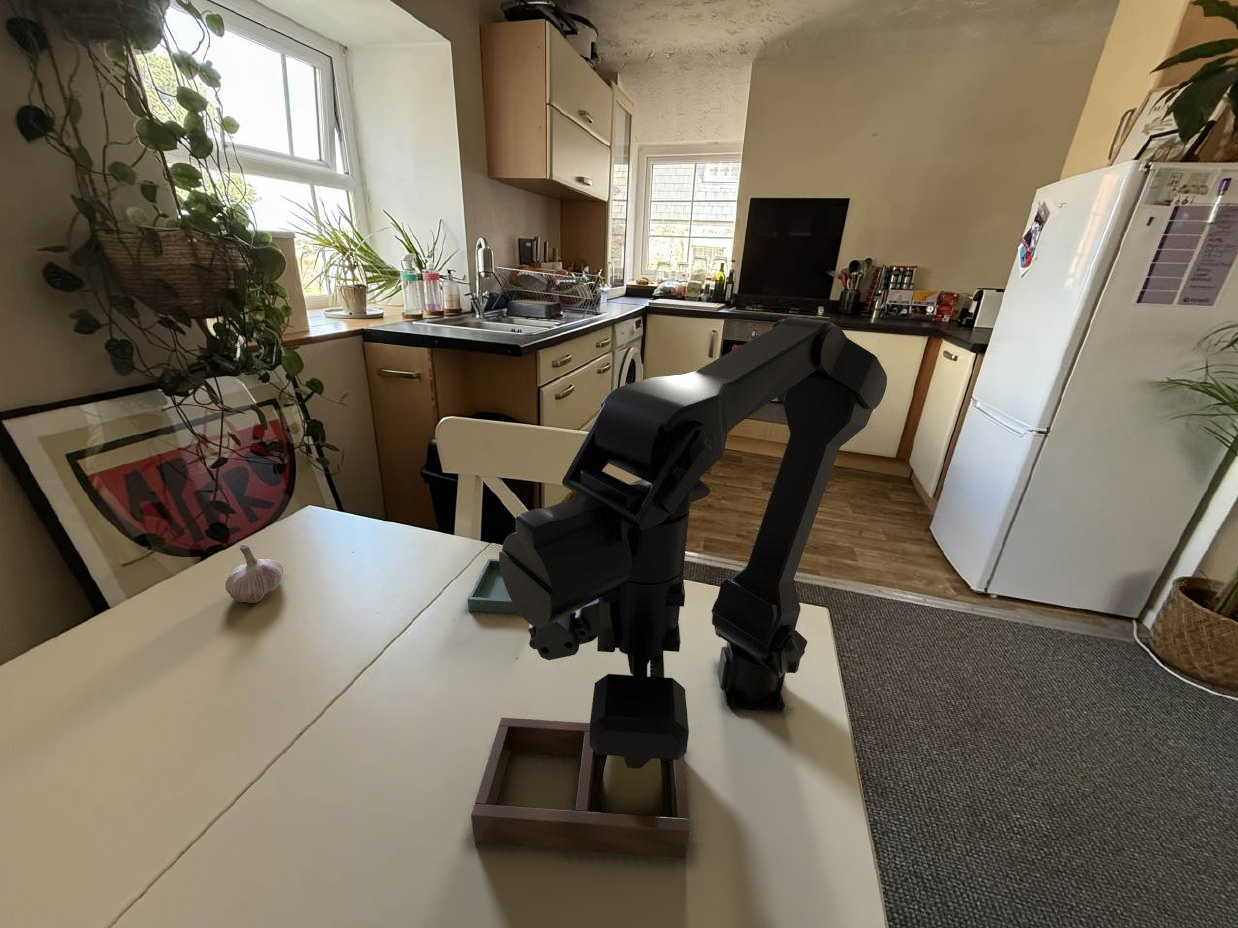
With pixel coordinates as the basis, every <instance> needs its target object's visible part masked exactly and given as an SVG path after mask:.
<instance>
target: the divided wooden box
mask: <svg viewBox="0 0 1238 928" xmlns="http://www.w3.org/2000/svg"><path fill="white" fill-rule="evenodd" d="M589 737H590V722H577V721H565V720H564V721H563V720H548V719H532V718H518V717H517V718H516V717H502V716H501V717H500V720H499V723H498V727H497V729H496V733H495V736H494V740H493V742H492V746H491V749H490V753H489V756H488V758H487V762H486V765H485V769H484V771H483V775H482V779H481V782H480V784H479V788H478V791H477V795H476V797H475V801H474V805H473V807H472V810H471V814H470V818H471V819H470V820H471V827H472V835H473V842H474V843H479V844H480V843H482V844H496V845H509V846H523V847H535V848H537V847H538V848H550V849H564V850H565V849H566V850H579V851H592V852H607V853H619V854H620V853H623V854H634V855H649V856H660V857H661V856H662V857H677V858H687V855H688V850H689V849H688V848H689V841H690V834H691V825H690V815H689V814H690V813H689V812H690V811H689V801H688V789H687V787H688V786H687V776H686V765H685V754H684V755H683V756H682V757H681V758H680V759H679V760H667V759H660V762H669V774H670V775H669V778H670V779H669V780H670V795H671V797H670V799H671V815H672V816H671V817H669V816H668V817H667V816H659V817H654V816H640V815H626V814H611V813H602V812H595V811H590V809H591V796H592V788H593V779H594V778H593V776H594V767H595V758H607V755H597V754H596V753H595V751H594V750H593V749H592V748H591V747H590V746H589ZM511 752H520V753H521V752H522V753H533V754H534V753H535V754H537V753H538V754H550V755H551V754H552V755H564V756H580V757H581V760H580V769H579V777H578V785H577V795H576V801H575V809H574V810H568V809H567V810H566V809H552V808H539V807H538V808H536V807H523V806H511V805H497V801H498V798H499V794H500V791H501V788H502V787H501V786H502V783H503V779H504V775H505V772H506V768H507V764H508V761H509V757H510V754H511Z"/></svg>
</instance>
